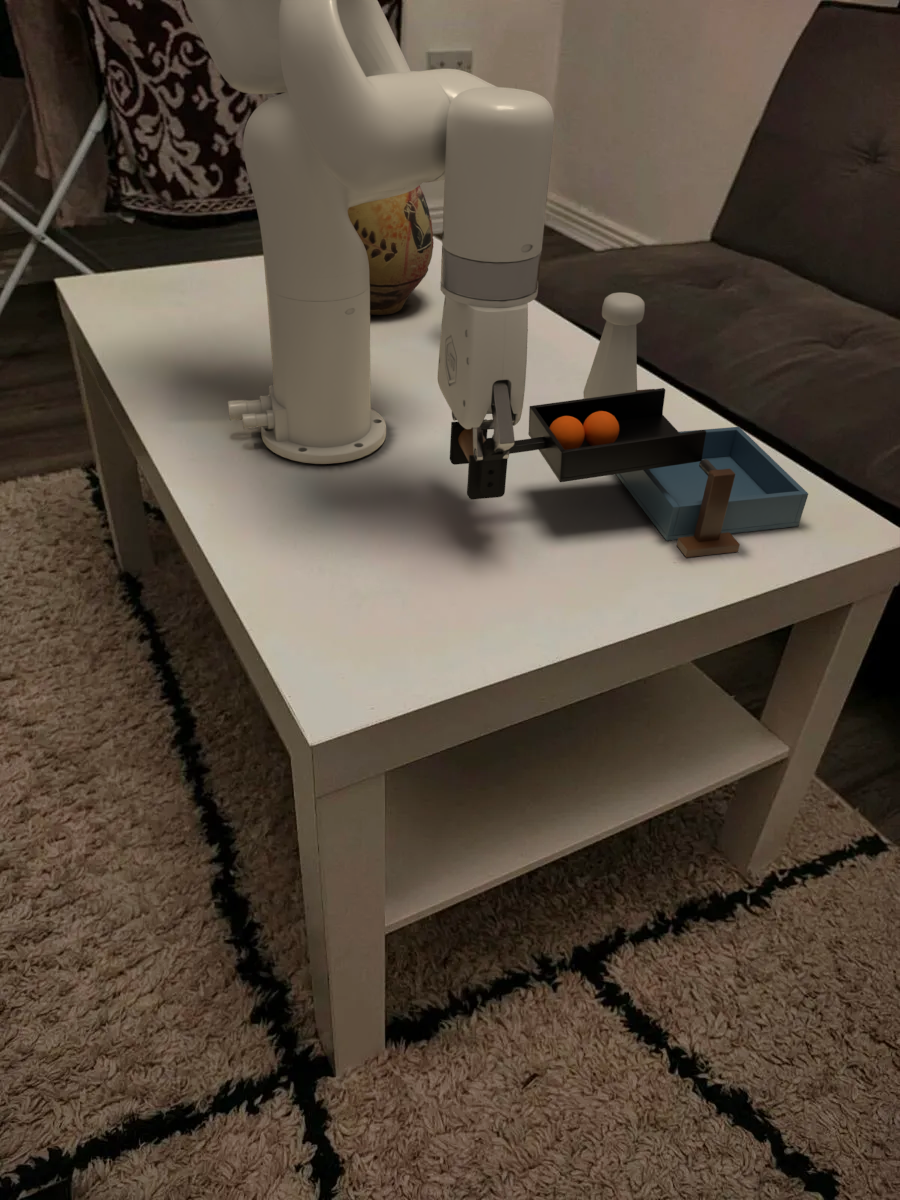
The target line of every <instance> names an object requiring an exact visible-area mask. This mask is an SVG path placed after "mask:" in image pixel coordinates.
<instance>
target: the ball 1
mask: <svg viewBox="0 0 900 1200" xmlns="http://www.w3.org/2000/svg"><path fill="white" fill-rule="evenodd" d="M549 428H550V430H551V431H552V433H553V434H554V435H555V437H556V438H557V440H558V441H559V442H560V444H561V445H562V447H563V448H564V450H567V449H574V448H579V447H580V446H581V445H582V443H583V441H584V437H585V430H584V427H583V425H582V424H581V422H580V421H579V420H578V419H576V418H574V417H571V416H562V417H559V418H557V419H556V420H554V421H553V423H552V424H551V425H550V427H549Z"/></svg>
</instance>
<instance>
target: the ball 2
mask: <svg viewBox="0 0 900 1200" xmlns="http://www.w3.org/2000/svg"><path fill="white" fill-rule="evenodd" d="M583 427H584V430H585V437H584V438H585V440H586V441H587V442H588V444H590V445H591V446H595V445H602V444H609V443H614V442H615V440H616V439H617V437H618V435H619V424H618V421H617V419H616V418H615V417H614V416H613V415H612V414H610V413H608V412H605V411H598V412H594V413H592V414H591V415H589V416H588V417H587V418H586V420H585V422H584V424H583Z"/></svg>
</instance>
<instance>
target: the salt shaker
mask: <svg viewBox="0 0 900 1200" xmlns="http://www.w3.org/2000/svg"><path fill="white" fill-rule="evenodd" d="M645 306H646V305H645V301H644V299H642V297H640V296H639V295H636V294H634V293H629V292H613V293H611V294H608V295H607V296H606V297H604V301H603V303H602V307H601V316H602V318H603V319H604V320H605V324H604V328H603V331H602V333H601V337H600V340H599V343H598V346H597V350H596V352H595V355H594V358H593V362H592V365H591V368H590V370H589V374H588V376H587V380H586V383H585V386H584V389H583V399H586V398H593V397H601V396H608V395H615V394H623V393H630V392H635V391H636V390H638V373H637V372H638V363H637V360H638V359H637V358H638V357H637V356H638V355H637V351H638V349H637V343H638V342H637V325H638V324H639V323H641V322H643V319H644V315H645V311H646V310H645V308H646V307H645Z"/></svg>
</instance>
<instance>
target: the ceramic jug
mask: <svg viewBox="0 0 900 1200" xmlns="http://www.w3.org/2000/svg"><path fill="white" fill-rule="evenodd" d="M348 216H349V219H350V221H351V223H352V225H353V227H354V228H355V230H356V232H357V234H358V235H359V237H360V239H361V240H362V242H363V244H364V247H365V249H366V252H367V256H368V261H369V284H370V317H371V316H389V315H392V314H395V313H398V312H399V311H401V310H402V309H403V307H404V306H405V303H406V302H407V300H408V298H409V297H410V295H411V294H412V292H413V291H414V290H415V289H416V288H417V287H418V286H419V284H420V283H422V281H423V280H424V278H425V277H426V276H427V274H428V271H429V267H430V264H431V262H432V257H433V252H434V245H435V244H434V243H435V242H434V231H433V222H432V217H431V214H430V209H429V206H428V203H427V200H426V198H425V194H424V192H423V190H422V188H421V185H419V186H418V187H417V188H415V189H413V190H412V191H409V192H407V193H404V194H401V195H397V196H393V197H389V198H385V199H381V200H376V201H371V202H367V203H362V204H359V205H356V206H353V207H350V208H349V209H348Z"/></svg>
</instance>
